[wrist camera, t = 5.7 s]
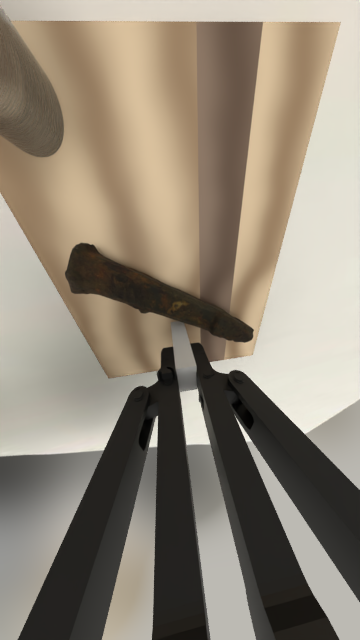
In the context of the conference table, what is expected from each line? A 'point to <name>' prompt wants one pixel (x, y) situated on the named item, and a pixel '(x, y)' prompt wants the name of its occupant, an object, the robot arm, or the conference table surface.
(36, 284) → the conference table surface
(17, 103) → the copper and grey cylinder
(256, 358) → the conference table surface
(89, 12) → the conference table surface
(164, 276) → the plywood sheet
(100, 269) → the hand tool
